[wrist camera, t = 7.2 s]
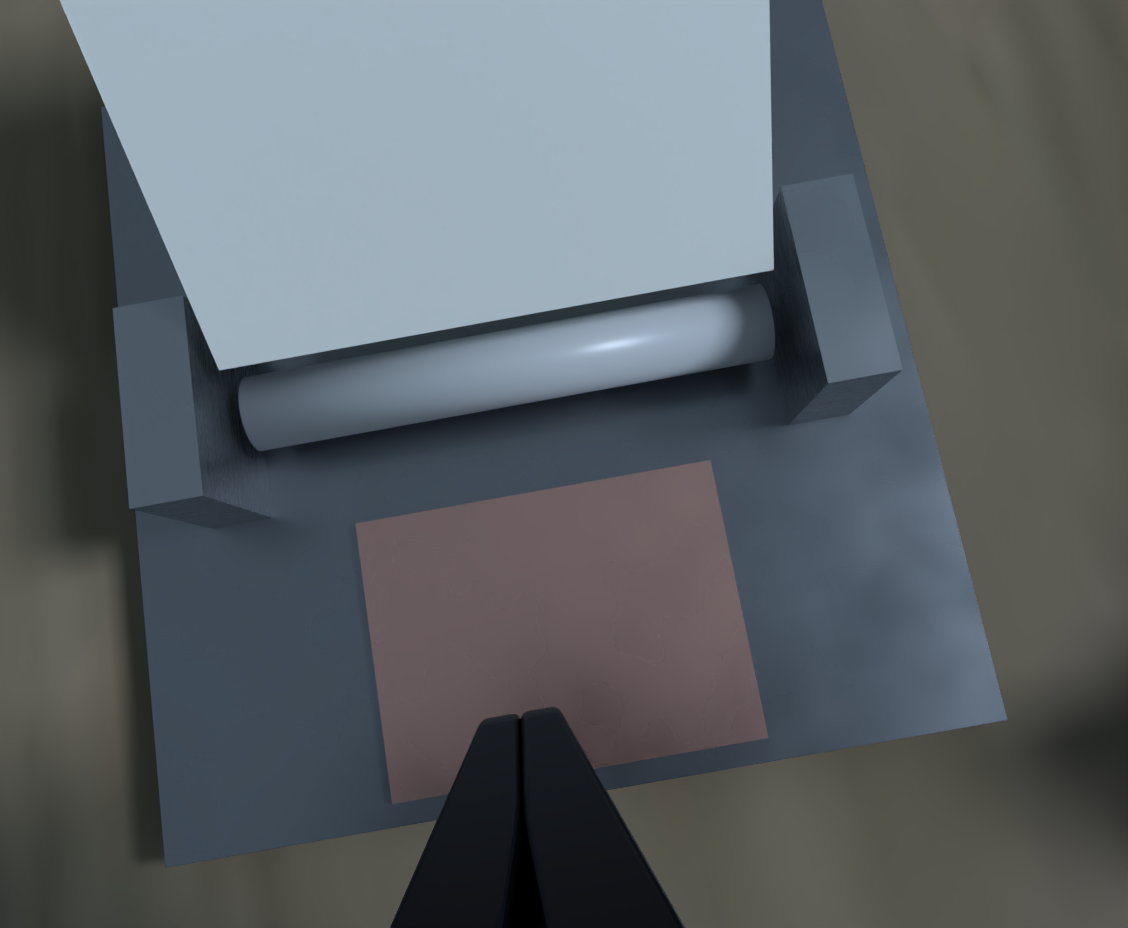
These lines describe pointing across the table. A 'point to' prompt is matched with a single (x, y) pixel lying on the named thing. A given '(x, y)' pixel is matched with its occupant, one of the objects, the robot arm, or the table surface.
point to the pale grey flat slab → (447, 191)
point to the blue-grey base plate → (551, 540)
